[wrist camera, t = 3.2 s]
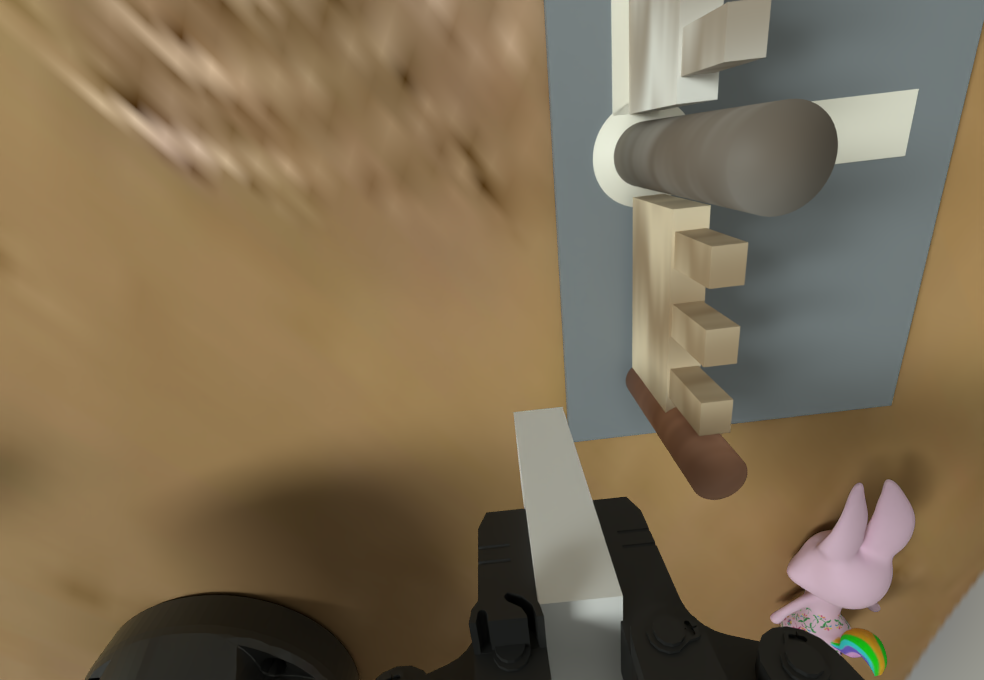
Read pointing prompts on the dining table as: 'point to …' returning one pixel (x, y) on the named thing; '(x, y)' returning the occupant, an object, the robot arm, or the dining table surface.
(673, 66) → the white fence section
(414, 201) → the dining table surface
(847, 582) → the rabbit figure
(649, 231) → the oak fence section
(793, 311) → the board
